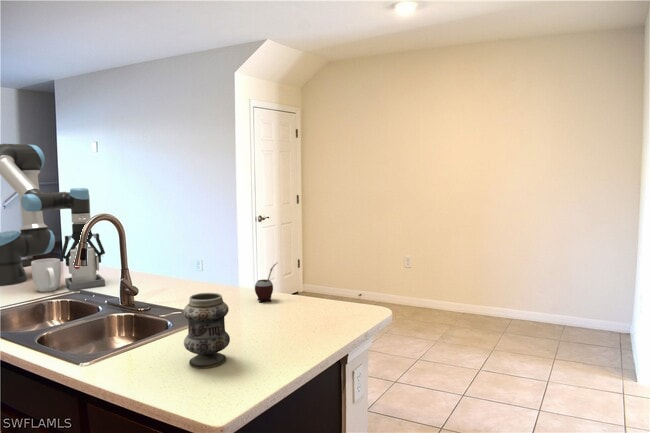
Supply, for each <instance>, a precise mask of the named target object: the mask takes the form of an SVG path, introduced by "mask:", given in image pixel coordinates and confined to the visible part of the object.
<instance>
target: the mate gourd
mask: <svg viewBox="0 0 650 433" xmlns="http://www.w3.org/2000/svg"><path fill="white" fill-rule="evenodd" d="M277 264H279V263H278V261H276V262H275V263H274V264H273V265H272V266H271V268H270V270H269V274H268V277H267V279H259V280H257V281H256V282H255V284H254V292H255V295H256V296H257V301H258V303H259V304H262V303H264V302H267V303H272V300H271V299H272V294H273V292H274V284H273V282H272V281H271V280H270V277H271V273H272V271H273V268H275V267H276V265H277Z"/></svg>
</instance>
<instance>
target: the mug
mask: <svg viewBox="0 0 650 433" xmlns="http://www.w3.org/2000/svg"><path fill="white" fill-rule="evenodd" d="M30 266H31V267H30V268H31V276H32V281H33V284H34V287H35V288H36V289H37V291H38V292H41V293H47V292H53V291H56V290H57V289H58V287H59V285H60V282H61V279H62V278H61V277H62V268H61V267H62V266H61V259H60V258H49V257H48V258H41V259H36V260H35V259H34V260H32V261H31V262H30Z"/></svg>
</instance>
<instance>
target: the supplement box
mask: <svg viewBox="0 0 650 433" xmlns="http://www.w3.org/2000/svg"><path fill="white" fill-rule="evenodd" d="M77 247H78V246H76V247H75V249H73V250H70V249H69V250H70V255H71V256H70V259H71V273H72V274H71V277H72V283H78V282H86V281H94V280H96V278H97V274H98V273H97V270H96V256H97V254H96V252H95V251H94V248H92V247H91V246H87V247H88V266H87V267H75V266H74V265H73V263H74V260H75V256H76V252H77Z"/></svg>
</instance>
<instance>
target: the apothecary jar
mask: <svg viewBox="0 0 650 433" xmlns="http://www.w3.org/2000/svg"><path fill="white" fill-rule="evenodd" d="M229 311H230V310H229V305H228V304H227V303H226V302H225V301H224V299H223V295H222V294H220V293H217V292H200V293H195V294H192V295H190V297H189V302H188V303H187V304H186V306H184V309H183V311H182V313H183V316H184V318H185V319H186V320H187V323H188V326H187V328H188V330H187V333H188V334H187V335H186V336H185V338H184V339H183V346H184V349H186V350H187V351H188V352H190V353H191V354H195V356H192V358H190V360H189V362H188V365H189V366H190V367H192V368H195V369H210V368H211V369H212V368H215V367H219V366H221V365H223V364H225V362H226V361H227V356H226V355H225V354H223V353H221V351H223V350H225V349H226V348H227V347H228V346H229V344H230V342H231V336H230V334H229V332H227V331H226V324H225V323H226V322H225V317H226V316H227V315H228V313H229Z"/></svg>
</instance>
